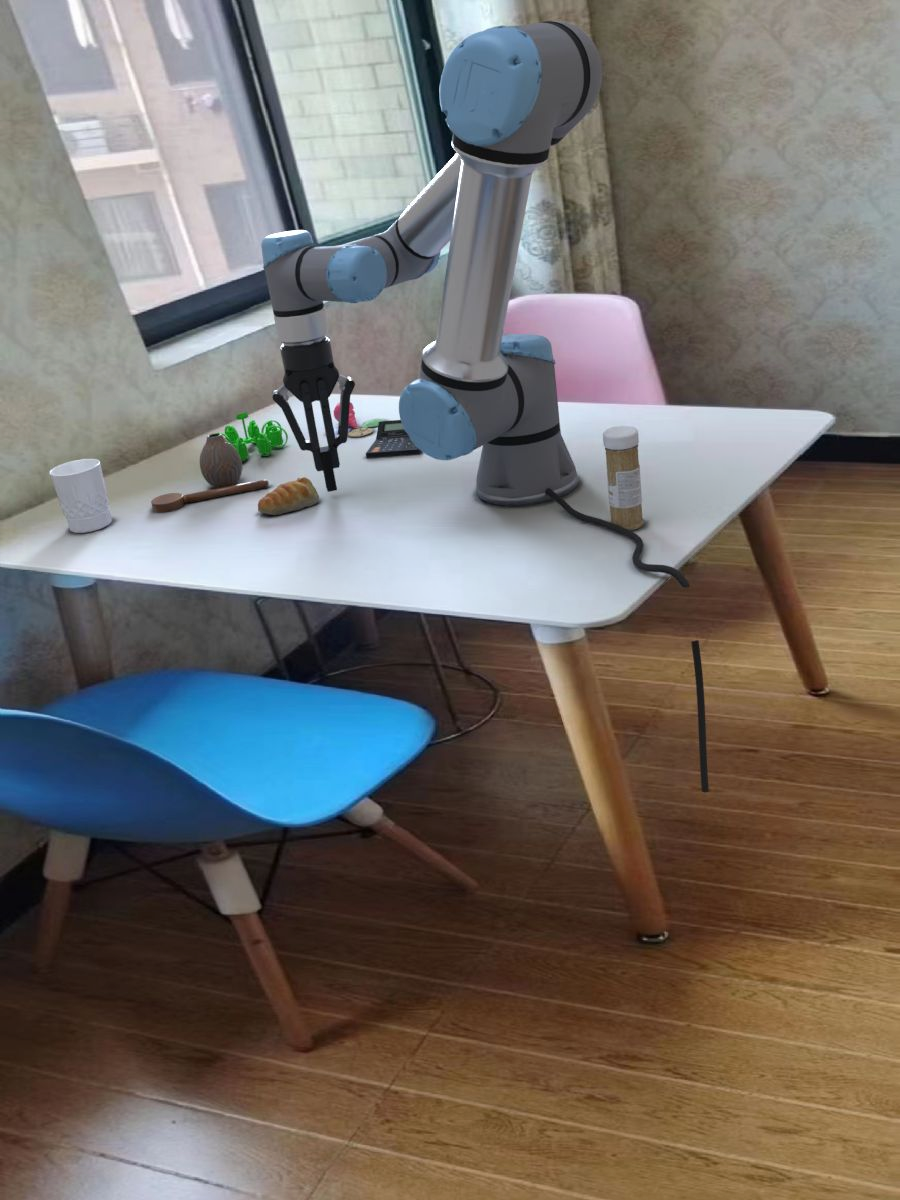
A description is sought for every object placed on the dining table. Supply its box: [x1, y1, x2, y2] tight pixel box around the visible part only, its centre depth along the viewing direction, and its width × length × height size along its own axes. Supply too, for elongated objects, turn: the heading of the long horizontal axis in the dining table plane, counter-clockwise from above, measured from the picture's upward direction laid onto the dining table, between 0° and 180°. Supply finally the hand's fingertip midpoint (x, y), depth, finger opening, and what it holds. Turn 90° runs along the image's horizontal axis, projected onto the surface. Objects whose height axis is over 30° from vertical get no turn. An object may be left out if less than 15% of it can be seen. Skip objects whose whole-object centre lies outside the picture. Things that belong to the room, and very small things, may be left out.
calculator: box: [365, 419, 422, 459], centre depth 202 cm, size 9×12×3 cm
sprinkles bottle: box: [602, 425, 645, 531], centre depth 152 cm, size 5×5×14 cm
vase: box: [199, 432, 243, 489], centre depth 194 cm, size 7×7×9 cm
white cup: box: [48, 458, 113, 534], centre depth 184 cm, size 8×8×10 cm
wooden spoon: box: [150, 479, 270, 513], centre depth 190 cm, size 19×5×1 cm, turn 103°
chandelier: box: [215, 412, 289, 463], centre depth 210 cm, size 15×15×7 cm
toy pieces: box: [333, 401, 387, 438], centre depth 215 cm, size 12×11×4 cm
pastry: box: [257, 476, 320, 516], centre depth 180 cm, size 9×7×4 cm
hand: (331, 488), depth 181 cm, fingers closed
